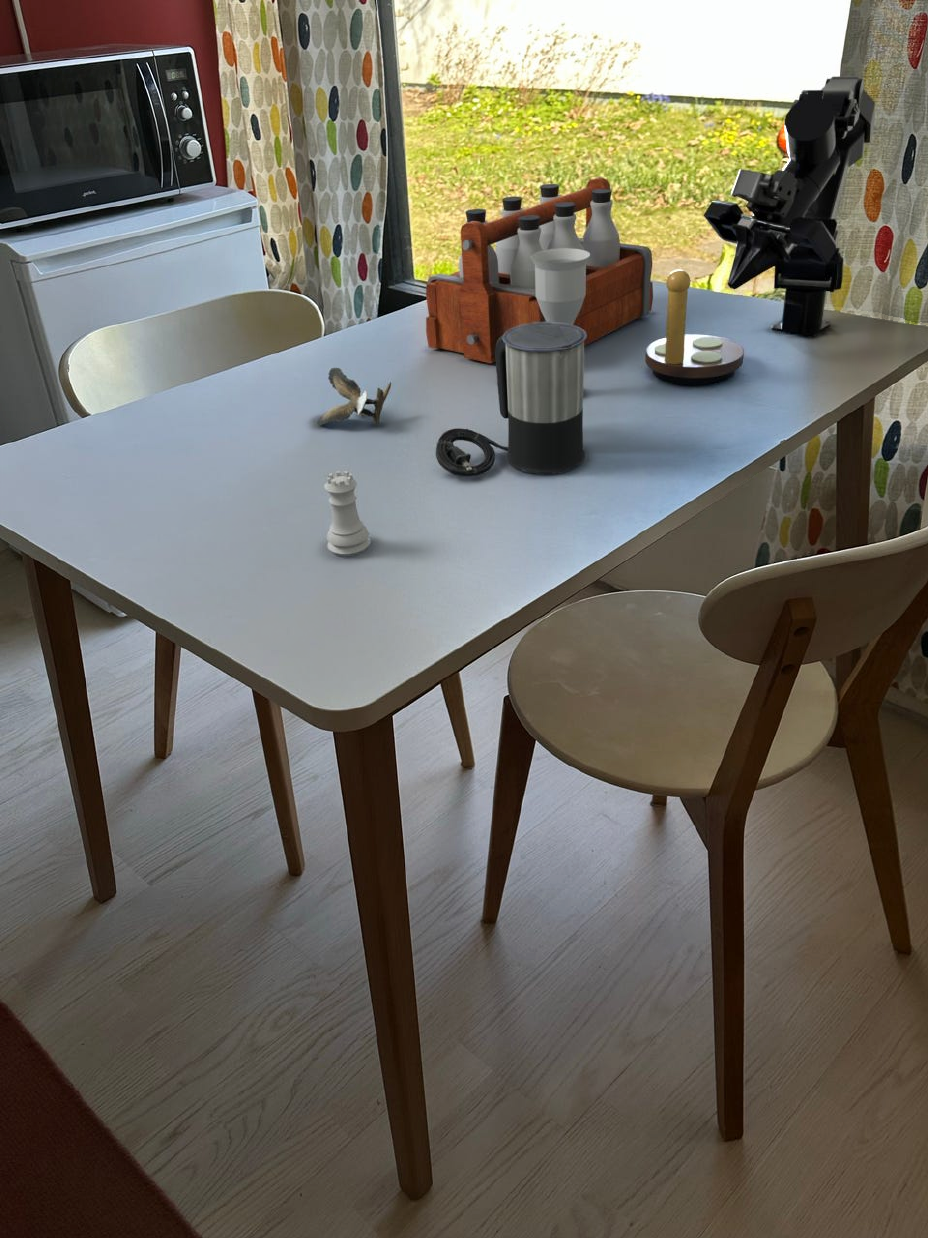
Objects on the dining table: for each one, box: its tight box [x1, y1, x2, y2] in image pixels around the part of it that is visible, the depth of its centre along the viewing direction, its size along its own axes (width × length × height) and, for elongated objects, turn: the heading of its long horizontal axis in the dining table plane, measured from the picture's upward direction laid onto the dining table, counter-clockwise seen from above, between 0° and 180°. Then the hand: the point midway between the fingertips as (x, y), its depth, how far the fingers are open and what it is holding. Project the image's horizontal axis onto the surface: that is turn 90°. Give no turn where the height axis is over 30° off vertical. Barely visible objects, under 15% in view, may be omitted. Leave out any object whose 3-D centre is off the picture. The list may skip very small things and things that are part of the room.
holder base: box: [651, 369, 735, 387], centre depth 141 cm, size 11×11×1 cm
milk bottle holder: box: [425, 177, 654, 364], centre depth 153 cm, size 21×35×19 cm, turn 141°
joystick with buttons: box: [644, 269, 745, 378], centre depth 137 cm, size 13×13×13 cm
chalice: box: [531, 248, 590, 325], centre depth 132 cm, size 7×7×18 cm
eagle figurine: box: [316, 367, 392, 427], centre depth 132 cm, size 8×7×9 cm
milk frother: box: [435, 322, 587, 477], centre depth 116 cm, size 14×16×15 cm
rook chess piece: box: [324, 470, 372, 557], centre depth 104 cm, size 4×4×8 cm
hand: (730, 286), depth 135 cm, fingers closed
